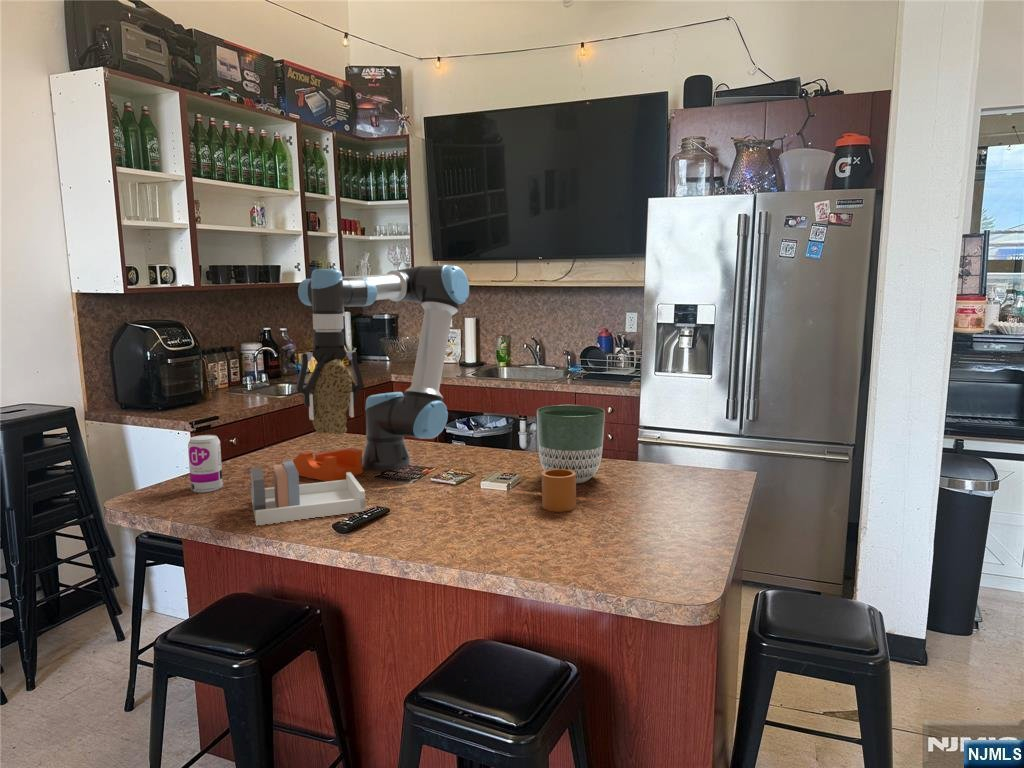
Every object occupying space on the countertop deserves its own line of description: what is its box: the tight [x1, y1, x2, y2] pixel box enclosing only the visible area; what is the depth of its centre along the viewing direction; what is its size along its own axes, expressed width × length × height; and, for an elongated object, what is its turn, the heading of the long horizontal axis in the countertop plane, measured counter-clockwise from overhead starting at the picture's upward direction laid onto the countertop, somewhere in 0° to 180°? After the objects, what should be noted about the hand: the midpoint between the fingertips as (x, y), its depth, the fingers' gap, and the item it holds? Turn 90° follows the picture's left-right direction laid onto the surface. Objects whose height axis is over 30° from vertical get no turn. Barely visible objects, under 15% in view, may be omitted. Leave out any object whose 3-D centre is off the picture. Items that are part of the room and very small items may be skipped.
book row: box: [272, 460, 300, 508], centre depth 176 cm, size 5×13×10 cm, turn 23°
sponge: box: [310, 359, 353, 435], centre depth 177 cm, size 13×8×20 cm, turn 59°
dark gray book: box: [250, 466, 266, 513], centre depth 173 cm, size 2×14×9 cm, turn 23°
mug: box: [541, 469, 577, 513], centre depth 179 cm, size 9×12×9 cm
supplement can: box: [187, 434, 223, 494], centre depth 193 cm, size 8×8×15 cm
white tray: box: [250, 472, 366, 527], centre depth 178 cm, size 26×20×6 cm
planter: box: [536, 404, 606, 485], centre depth 199 cm, size 20×20×21 cm
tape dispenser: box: [292, 447, 364, 482], centre depth 208 cm, size 18×13×8 cm
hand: (331, 417), depth 178 cm, fingers closed on sponge, 9 cm apart
